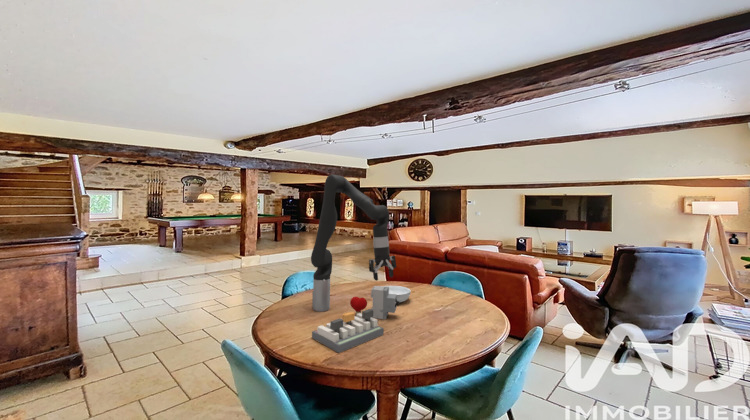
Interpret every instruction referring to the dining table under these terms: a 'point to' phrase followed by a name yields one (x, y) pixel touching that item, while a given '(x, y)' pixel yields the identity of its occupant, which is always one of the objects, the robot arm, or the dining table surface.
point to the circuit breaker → (383, 302)
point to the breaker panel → (350, 343)
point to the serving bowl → (400, 292)
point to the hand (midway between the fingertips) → (383, 278)
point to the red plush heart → (358, 304)
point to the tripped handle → (348, 317)
